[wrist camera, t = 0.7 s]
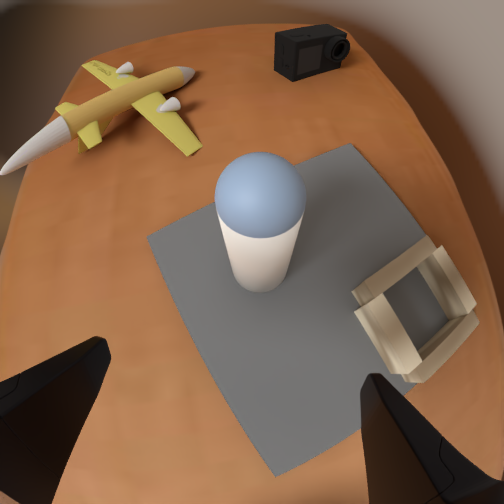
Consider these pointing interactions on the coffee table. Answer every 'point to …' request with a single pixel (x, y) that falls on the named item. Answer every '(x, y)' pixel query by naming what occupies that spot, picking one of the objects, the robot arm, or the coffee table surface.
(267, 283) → the blue-domed white cylinder
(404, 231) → the jig board
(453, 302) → the cradle
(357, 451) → the coffee table surface
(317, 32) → the digital camera
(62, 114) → the toy airplane
